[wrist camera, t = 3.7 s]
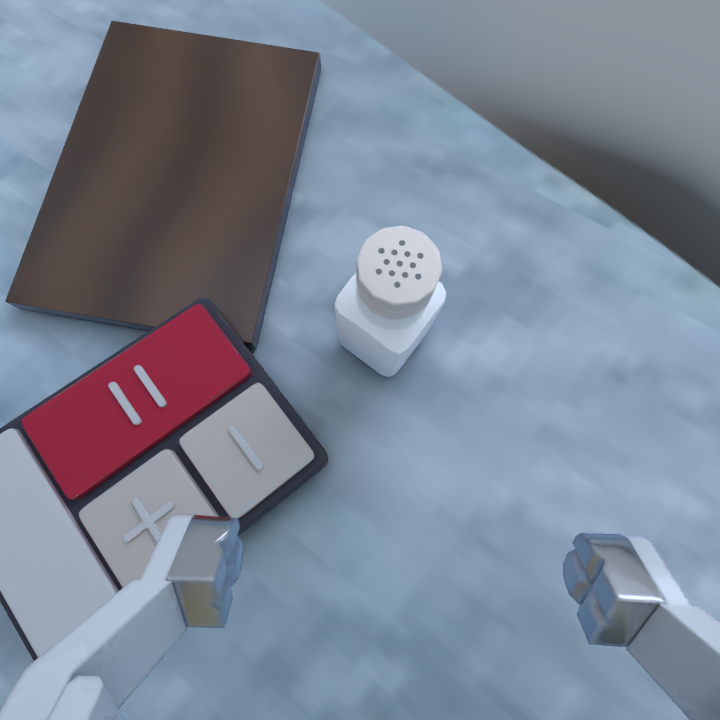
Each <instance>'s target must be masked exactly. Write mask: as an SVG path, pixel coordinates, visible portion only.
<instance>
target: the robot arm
mask: <svg viewBox="0 0 720 720" xmlns="http://www.w3.org/2000/svg"><path fill="white" fill-rule="evenodd" d="M239 529H240V524H239V519H238V518H233V517H218V516H204V515H190V514H173V515H172V516H171V517H170V518H169V520H168V521H167V523H166V525H165V528H164V530H163V532H162V534H161V536H160V538H159V540H158V542H157V544H156V546H155V549H154V551H153V553H152V555H151V557H150V559H149V561H148V563H147V565H146V567H145V570H144V572H143V574H142V576H141V578H140V579H133V580H132V581H131V582H129V583H128V584H127V585H126V586H124V587H123V588H122V589H121V590H120V591H118V592H117V593H116V594H115V595H114V596H112V597H111V598H110V599H109V600H108V601H106V602H105V603H104V604H103V605H101V606H100V607H99V608H98V609H97V610H95V611H94V612H93V613H92V614H91V615H89V616H88V617H87V618H86V619H85V620H83V621H82V622H81V623H80V624H78V625H77V626H76V627H75V628H74V629H72V630H71V631H70V632H69V633H68V634H66V635H65V636H64V637H63V638H62V639H60V640H59V641H58V642H57V643H55V644H54V645H53V646H52V647H51V648H49V649H48V650H47V651H46V652H45V653H43V654H42V655H41V656H40V657H39V658H37V659H36V660H35V661H34V662H32V663H31V664H30V665H29V666H28V667H26V668H25V669H24V670H23V671H22V673H21V674H20V676H19V678H18V679H17V681H16V683H15V684H14V686H13V688H12V689H11V691H10V693H9V694H8V696H7V698H6V699H5V701H4V703H3V704H2V706H1V708H0V720H125V718H124V716H123V715H122V713H121V711H120V710H119V708H120V707H121V705H122V704H123V703H124V702H125V701H126V700H127V698H128V697H129V696H130V695H131V694H132V693H133V691H134V690H135V689H136V688H137V687H138V686H139V685H140V683H141V682H142V681H143V680H144V679H145V678H146V676H147V675H148V674H149V673H150V672H151V671H152V669H153V668H154V667H155V666H156V665H157V664H158V663H159V661H160V660H161V659H162V658H163V657H164V656H165V654H166V653H167V652H168V651H169V650H170V649H171V647H172V646H173V645H174V644H175V643H176V642H177V640H178V639H179V638H180V637H181V636H182V635H183V634H184V632H185V631H186V630H187V628H186V627H208V628H224V627H225V624H226V620H227V617H228V613H229V609H230V606H231V602H232V599H233V598H232V592H231V587H230V586H232V585H233V584H234V583H235V582H236V581H237V580H238V576H239V572H240V569H241V563H242V556H243V543H242V538H240V537H239V536H238V532H239ZM573 544H574V547H575V549H574V550H573V551H571V552H569V553H568V554H567V555H566V558H565V560H564V562H563V576H564V580H565V585H566V587H567V590H568V593H569V595H570V596H571V597H572V598H573V599H574V600H575V601H576V602H577V603H578V604H580V605H579V609H578V612H577V615H578V618H579V620H580V623H581V625H582V628H583V630H584V633H585V635H586V638H587V640H588V643H589V644H590V645H604V646H617V647H628V648H627V651H628V652H629V653H630V654H631V655H632V656H633V657H634V658H635V659H636V661H637V662H638V663H639V664H640V665H641V666H642V667H643V668H644V669H645V671H646V672H647V673H648V674H649V675H650V676H651V677H652V678H653V679H654V681H655V682H656V683H657V684H658V685H659V686H660V687H661V688H662V689H663V691H664V692H665V693H666V694H667V695H668V696H669V697H670V698H671V699H672V701H673V702H674V703H675V704H676V705H677V706H678V707H679V708H680V709H681V711H682V712H683V713H684V714H685V715H686V716H687V717H688V718H689V719H690V720H720V623H719V622H718V621H717V620H716V619H714V618H713V617H712V616H710V615H709V614H708V613H707V612H705V611H704V610H703V609H702V608H700V607H699V606H698V605H691V604H690V603H689V601H688V599H687V598H686V596H685V595H684V593H683V592H682V590H681V588H680V587H679V585H678V584H677V582H676V580H675V579H674V577H673V576H672V574H671V573H670V571H669V569H668V568H667V566H666V565H665V563H664V561H663V560H662V558H661V557H660V555H659V554H658V552H657V550H656V549H655V547H654V546H653V544H652V543H651V541H650V540H649V539H648V538H646V537H645V536H630V535H620V534H589V533H580V534H578V535H577V536H576V537H575V539H574V541H573Z"/></svg>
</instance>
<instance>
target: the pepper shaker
mask: <svg viewBox="0 0 720 720" xmlns="http://www.w3.org/2000/svg"><path fill="white" fill-rule="evenodd" d="M442 270H443V269H442V264H441V259H440V254H439V249H438V248H437V247H436V246H435V245H434V244H433V242H432V241H431V240H430V239H429V238H428V237H427V236H426V235H425V233H422V232H420V231H417V230H414V229H412V228H409V227H406V226H396V227H387V228H382V229H380V230H379V231H378V232H376V233H375V234H373V235H372V236H370V237H369V238H367V239H366V240H365V241H364V243H363V246H362V248H361V250H360V252H359V254H358V257H357V259H356V272H355V274H354V275H353V276H352V278H351V279H350V280H349V281H348V283H347V284H346V285H345V287H344V288H343V289H342V291H341V292H340V293H339V295H338V296H337V298H336V302H335V306H334V310H335V319H336V328H337V337H338V340H339V342H340V344H341V345H342V346H343V347H344V348H346V349H347V350H348V351H350V352H351V353H352V354H354V355H355V356H356V357H358V358H359V359H360V360H362V361H363V362H364V363H366V364H367V365H368V366H370V367H371V368H372V369H374V370H375V371H376V372H378V373H379V374H380V375H382V376H386V377H391V376H393V375H395V374H396V373H397V372H398V371H399V369H400V368H401V367H402V366H403V364H404V363H405V362H406V360H407V359H408V358H409V356H410V355H411V354H412V352H413V351H414V350H415V348H416V347H417V346H418V344H419V343H420V342H421V340H422V339H423V338H424V336H425V335H426V333H427V332H428V330H429V328H430V327H431V325H432V323H433V322H434V320H435V318H436V316H437V315H438V313H439V311H440V310H441V308H442V306H443V304H444V303H445V299H446V291H445V289H444V287H443V285H442V284H441V283H440V282H439V278H440V276H441V273H442Z"/></svg>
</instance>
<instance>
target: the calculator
mask: <svg viewBox="0 0 720 720" xmlns="http://www.w3.org/2000/svg"><path fill="white" fill-rule="evenodd" d="M327 462H328V455H327V453H326V451H325V450H324V448H323V447H322V446H321V444H320V443H319V442H318V440H317V439H316V438H315V436H314V435H313V434H312V432H311V431H310V430H309V429H308V427H307V426H306V425H305V423H304V422H303V421H302V419H301V418H300V417H299V415H298V414H297V413H296V411H295V410H294V409H293V408H292V406H291V405H290V404H289V402H288V401H287V400H286V398H285V397H284V396H283V394H282V393H281V392H280V390H279V389H278V388H277V386H276V385H275V384H274V383H273V381H272V380H271V379H270V377H269V376H268V375H267V373H266V372H265V371H264V369H263V368H262V367H261V365H260V364H259V363H258V361H257V360H256V359H255V358H254V356H253V355H252V354H251V352H250V351H249V350H248V348H247V347H246V346H245V344H244V343H243V342H242V340H241V339H240V338H239V337H238V335H237V334H236V333H235V331H234V330H233V329H232V327H231V326H230V325H229V323H228V322H227V321H226V319H225V318H224V317H223V315H222V314H221V313H220V312H219V310H218V309H217V308H216V306H215V305H214V304H213V302H212V301H211V300H210V299H208V298H205V297H203V298H199V299H198V300H196V301H194V302H193V303H191V304H190V305H188V306H187V307H185V308H184V309H182V310H181V311H179V312H177V313H176V314H174V315H173V316H171V317H170V318H168V319H167V320H165V321H164V322H162V323H161V324H159V325H158V326H156V327H155V328H153V329H151V330H150V331H148V332H147V333H145V334H144V335H142V336H141V337H139V338H138V339H136V340H135V341H133V342H132V343H130V344H129V345H127V346H125V347H124V348H122V349H121V350H119V351H118V352H116V353H115V354H113V355H112V356H110V357H109V358H107V359H106V360H104V361H103V362H101V363H99V364H98V365H96V366H95V367H93V368H92V369H90V370H89V371H87V372H86V373H84V374H83V375H81V376H80V377H78V378H77V379H75V380H73V381H72V382H70V383H69V384H67V385H66V386H64V387H63V388H61V389H60V390H58V391H57V392H55V393H54V394H52V395H51V396H49V397H48V398H46V399H44V400H43V401H41V402H40V403H38V404H37V405H35V406H34V407H32V408H31V409H29V410H28V411H26V412H25V413H23V414H22V415H20V416H18V417H17V418H15V419H14V420H12V421H11V422H9V423H8V424H6V425H5V426H3V427H2V428H0V602H1V603H2V605H3V607H4V609H5V610H6V612H7V614H8V616H9V618H10V619H11V621H12V623H13V625H14V626H15V628H16V630H17V632H18V634H19V635H20V637H21V639H22V641H23V643H24V644H25V646H26V648H27V650H28V651H29V653H30V655H31V657H32V659H33V660H34V661H35V660H36V659H37V658H39V657H40V656H41V655H42V654H43V653H45V652H46V651H47V650H48V649H49V648H51V647H52V646H53V645H54V644H55V643H57V642H58V641H59V640H60V639H62V638H63V637H64V636H65V635H66V634H68V633H69V632H70V631H71V630H72V629H74V628H75V627H76V626H77V625H78V624H80V623H81V622H82V621H83V620H85V619H86V618H87V617H88V616H89V615H91V614H92V613H93V612H94V611H95V610H97V609H98V608H99V607H100V606H101V605H103V604H104V603H105V602H106V601H108V600H109V599H110V598H111V597H112V596H114V595H115V594H116V593H117V592H118V591H120V590H121V589H122V588H123V587H124V586H126V585H127V584H128V583H129V582H131V581H132V580H133V579H140V578H141V576H142V574H143V572H144V570H145V567H146V565H147V563H148V561H149V559H150V557H151V555H152V553H153V551H154V549H155V546H156V544H157V542H158V540H159V538H160V536H161V534H162V532H163V530H164V528H165V525H166V523H167V521H168V520H169V518H170V517H171V516H172V515H173V514H190V515H204V516H218V517H233V518H238V519H239V524H240V529H239V532H238V536H239V535H240V534H241V533H242V532H244V531H245V530H246V529H247V528H249V527H250V526H251V525H252V524H254V523H255V522H256V521H257V520H259V519H260V518H261V517H262V516H264V515H265V514H266V513H267V512H269V511H270V510H271V509H272V508H273V507H275V506H276V505H277V504H278V503H280V502H281V501H282V500H283V499H285V498H286V497H287V496H288V495H290V494H291V493H292V492H293V491H295V490H296V489H297V488H298V487H300V486H301V485H302V484H303V483H305V482H306V481H307V480H308V479H310V478H311V477H312V476H313V475H315V474H316V473H317V472H318V471H320V470H321V469H322V468H323V467H324V466H325V465H326V464H327Z"/></svg>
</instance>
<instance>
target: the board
mask: <svg viewBox="0 0 720 720" xmlns="http://www.w3.org/2000/svg"><path fill="white" fill-rule="evenodd" d="M320 71H321V60H320V53H318V52H311V51H305V50H298V49H292V48H285V47H279V46H272V45H266V44H259V43H253V42H247V41H240V40H234V39H227V38H221V37H214V36H208V35H201V34H195V33H188V32H182V31H175V30H169V29H162V28H156V27H149V26H143V25H136V24H130V23H123V22H117V21H111V24H110V27H109V29H108V32H107V35H106V37H105V40H104V42H103V45H102V48H101V50H100V53H99V56H98V58H97V61H96V64H95V66H94V69H93V71H92V74H91V77H90V79H89V82H88V85H87V87H86V90H85V93H84V95H83V98H82V101H81V103H80V106H79V108H78V111H77V114H76V116H75V119H74V122H73V124H72V127H71V130H70V132H69V135H68V137H67V140H66V143H65V145H64V148H63V151H62V153H61V156H60V159H59V161H58V164H57V167H56V169H55V172H54V174H53V177H52V180H51V182H50V185H49V188H48V190H47V193H46V196H45V198H44V201H43V203H42V206H41V209H40V211H39V214H38V217H37V219H36V222H35V225H34V227H33V230H32V233H31V235H30V238H29V240H28V243H27V246H26V248H25V251H24V254H23V256H22V259H21V262H20V264H19V267H18V269H17V272H16V275H15V277H14V280H13V283H12V285H11V288H10V291H9V293H8V296H7V299H6V302H7V303H9V304H11V305H13V306H15V307H18V308H20V309H24V310H30V311H36V312H42V313H48V314H54V315H59V316H65V317H71V318H77V319H83V320H89V321H95V322H101V323H107V324H113V325H119V326H125V327H130V328H136V329H142V330H148V331H150V330H151V329H153V328H155V327H156V326H158V325H159V324H161V323H162V322H164V321H165V320H167V319H168V318H170V317H171V316H173V315H174V314H176V313H177V312H179V311H181V310H182V309H184V308H185V307H187V306H188V305H190V304H191V303H193V302H194V301H196V300H198V299H199V298H203V297H205V298H208V299H210V300H211V301H212V302H213V304H214V305H215V306H216V308H217V309H218V310H219V312H220V313H221V314H222V315H223V317H224V318H225V319H226V321H227V322H228V323H229V325H230V326H231V327H232V329H233V330H234V331H235V333H236V334H237V335H238V337H239V338H240V339H241V340H242V342H243V343H244V344H245V346H246V347H249V348H257V344H258V339H259V335H260V331H261V326H262V322H263V318H264V313H265V309H266V305H267V300H268V296H269V292H270V288H271V283H272V279H273V275H274V270H275V266H276V262H277V257H278V253H279V249H280V244H281V240H282V236H283V231H284V227H285V223H286V218H287V214H288V210H289V205H290V201H291V197H292V192H293V188H294V184H295V179H296V175H297V171H298V167H299V162H300V158H301V154H302V149H303V145H304V141H305V136H306V132H307V128H308V123H309V119H310V115H311V110H312V106H313V102H314V97H315V93H316V89H317V84H318V80H319V76H320Z"/></svg>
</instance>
